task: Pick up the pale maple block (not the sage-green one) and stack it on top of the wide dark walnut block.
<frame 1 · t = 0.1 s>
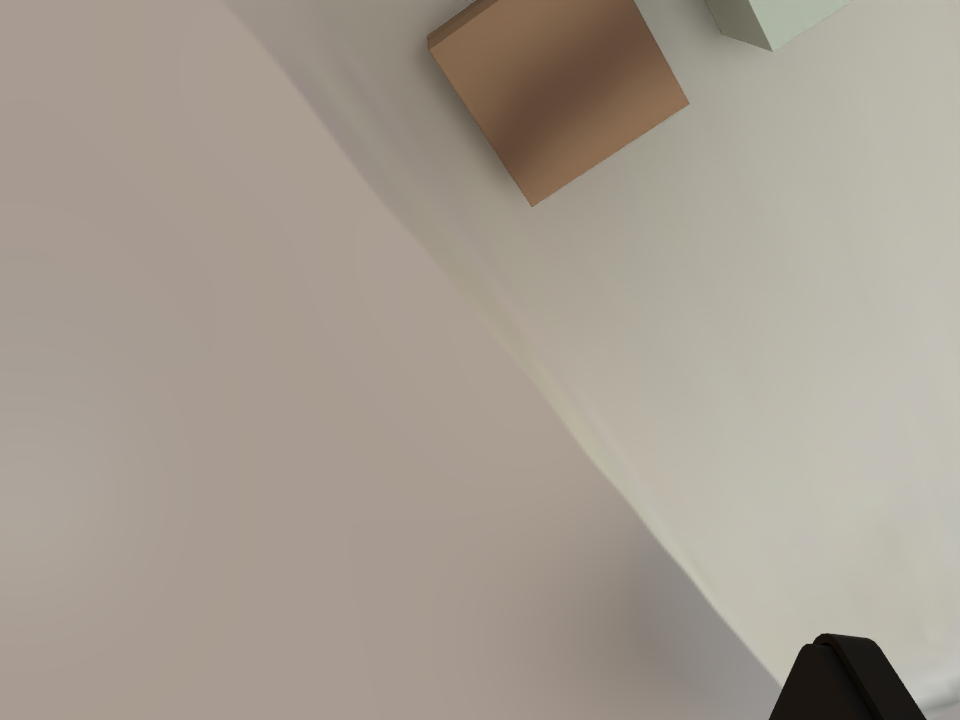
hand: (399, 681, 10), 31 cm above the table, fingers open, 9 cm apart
walnut block: (544, 59, 38), on the table
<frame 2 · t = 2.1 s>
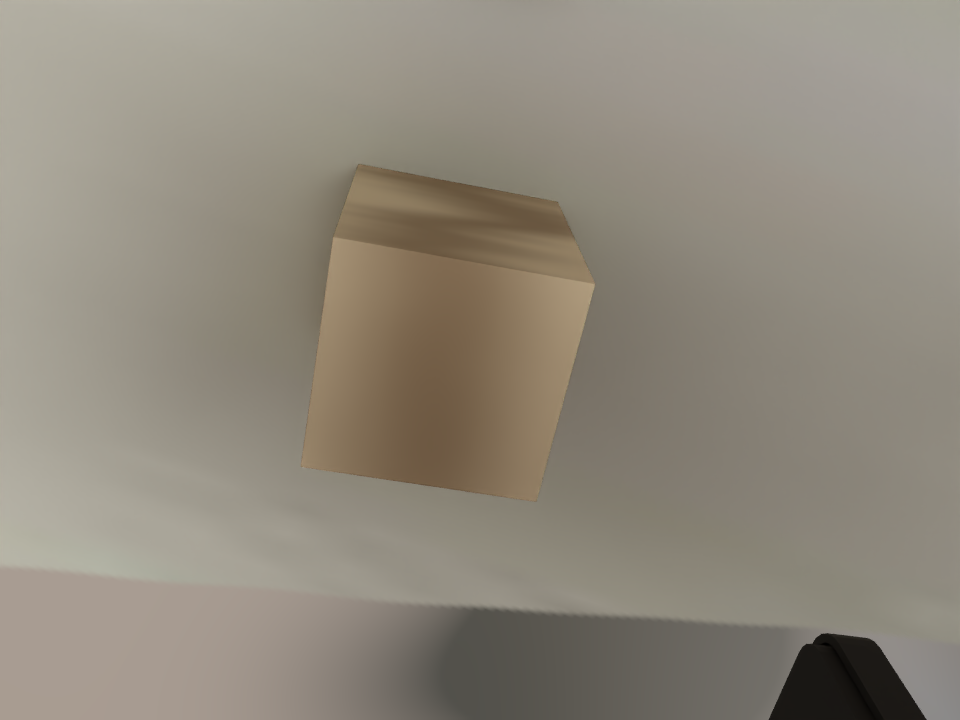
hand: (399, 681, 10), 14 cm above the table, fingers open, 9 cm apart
maple block: (441, 276, 23), on the table
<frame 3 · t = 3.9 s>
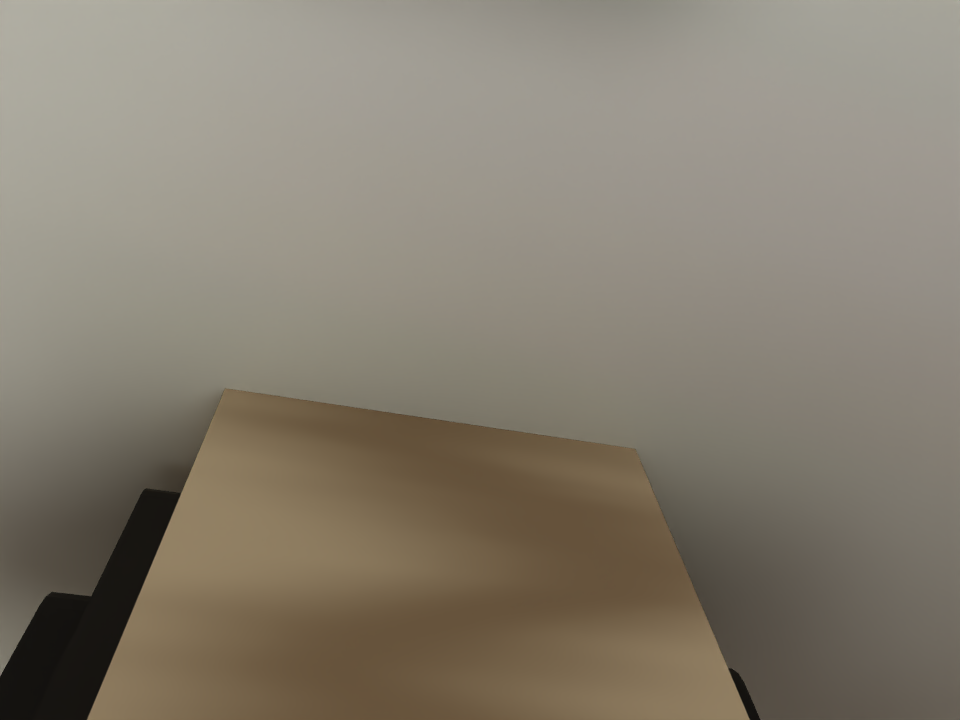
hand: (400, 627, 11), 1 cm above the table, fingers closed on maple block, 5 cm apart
maple block: (402, 583, 12), on the table, touching gripper
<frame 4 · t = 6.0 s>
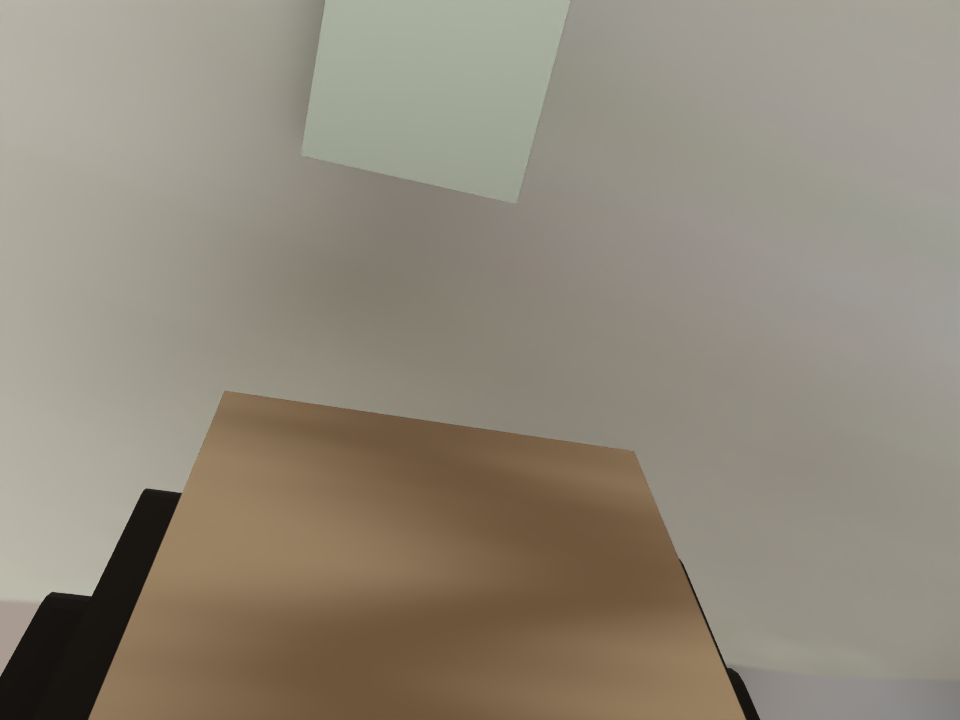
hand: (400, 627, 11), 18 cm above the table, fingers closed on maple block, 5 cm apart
maple block: (401, 585, 12), point 17 cm above the table, touching gripper
sage block: (431, 39, 25), on the table
when the fingers open (7 cm above the table, at t = 8.4 s): maple block drops 1 cm, point 5 cm above the table.
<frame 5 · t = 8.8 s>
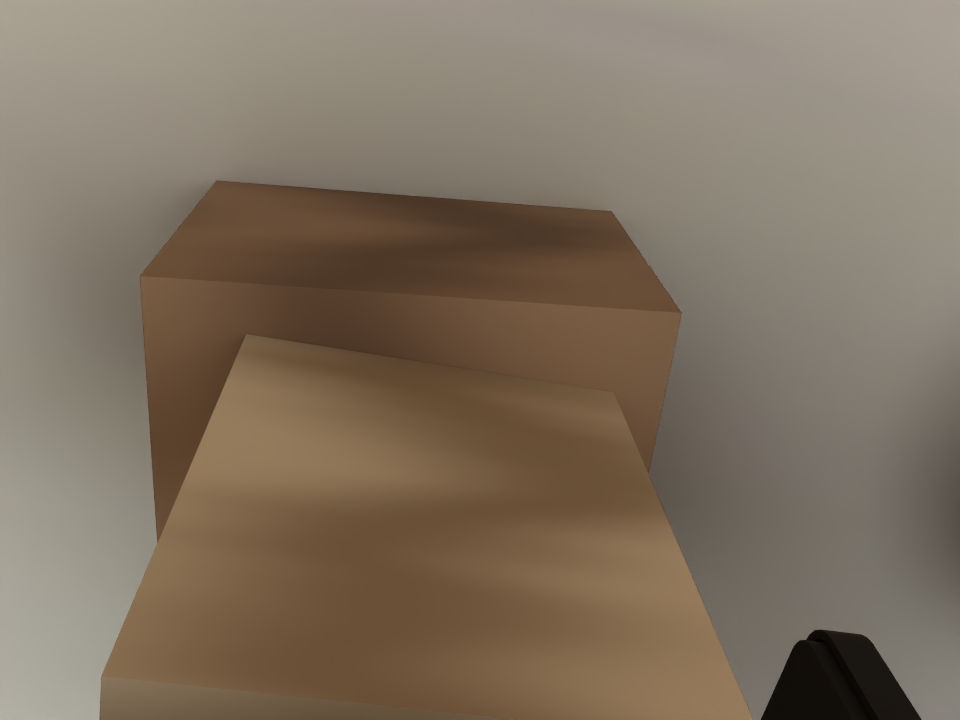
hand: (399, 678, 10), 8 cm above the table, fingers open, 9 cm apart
maple block: (403, 516, 13), point 5 cm above the table
walnut block: (406, 369, 18), on the table
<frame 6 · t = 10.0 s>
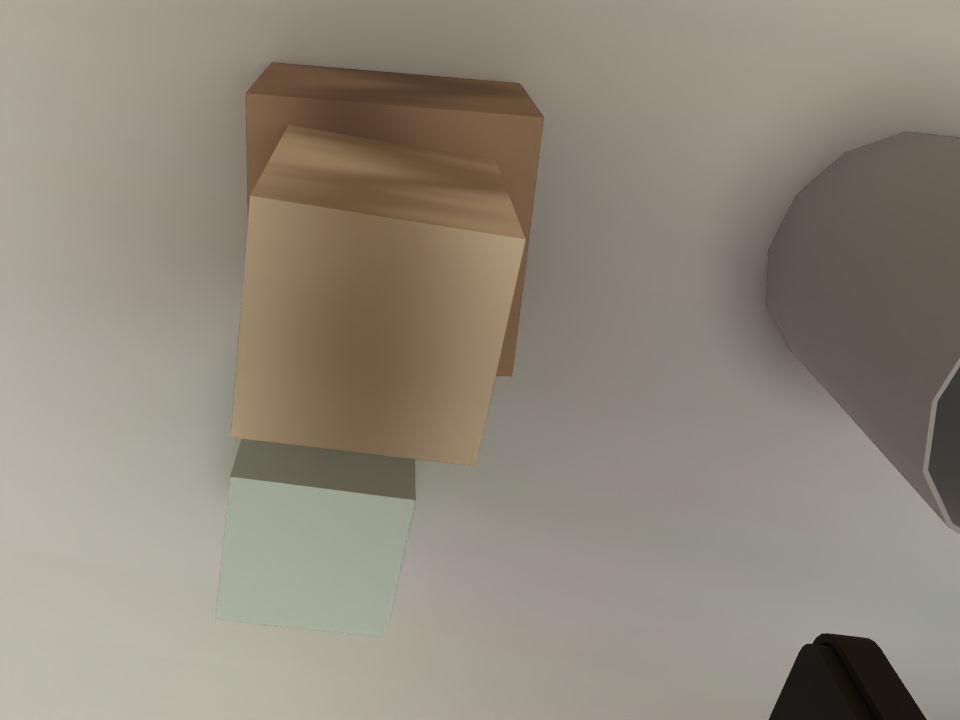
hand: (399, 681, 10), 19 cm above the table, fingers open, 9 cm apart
maple block: (379, 241, 23), point 5 cm above the table, touching walnut block
sage block: (328, 449, 31), on the table
walnut block: (391, 192, 27), on the table, touching maple block
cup: (888, 259, 30), on the table
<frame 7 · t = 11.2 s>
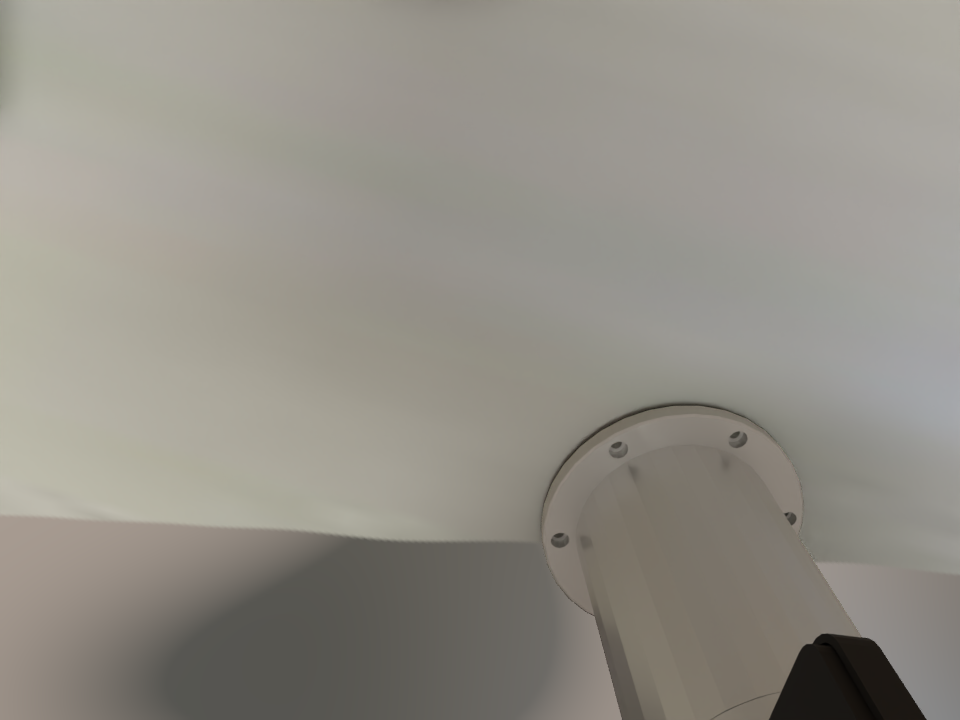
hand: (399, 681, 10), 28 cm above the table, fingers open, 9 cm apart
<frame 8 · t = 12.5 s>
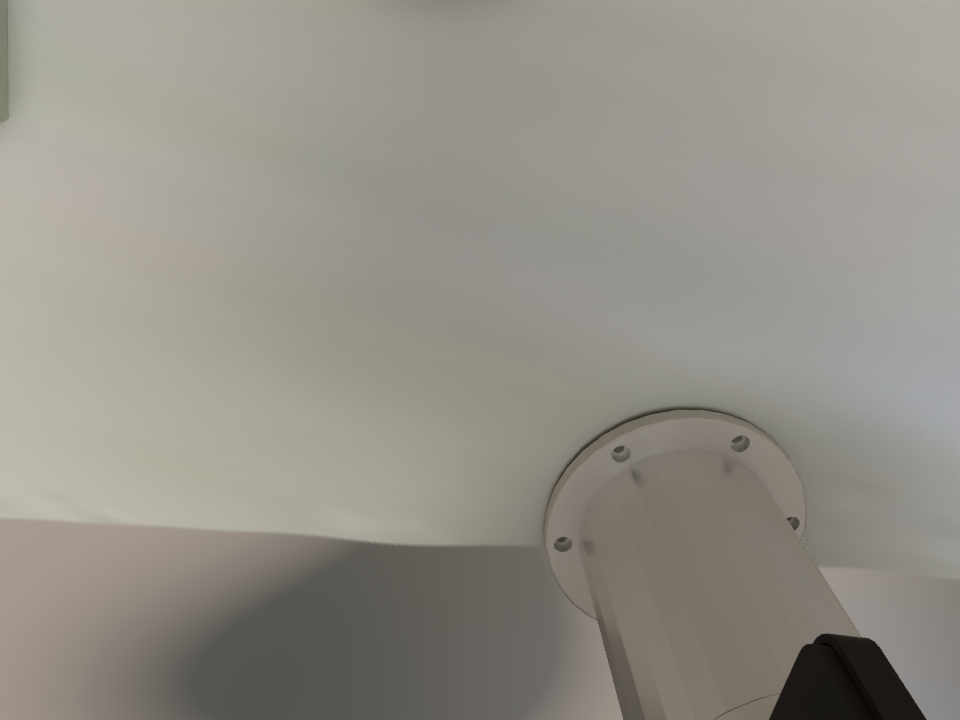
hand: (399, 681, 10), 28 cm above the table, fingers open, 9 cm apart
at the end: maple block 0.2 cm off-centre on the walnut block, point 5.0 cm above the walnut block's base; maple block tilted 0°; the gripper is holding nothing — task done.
